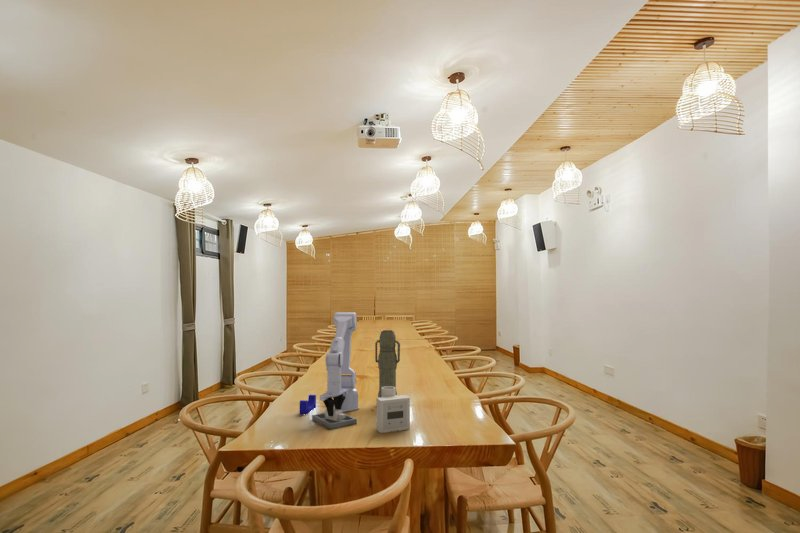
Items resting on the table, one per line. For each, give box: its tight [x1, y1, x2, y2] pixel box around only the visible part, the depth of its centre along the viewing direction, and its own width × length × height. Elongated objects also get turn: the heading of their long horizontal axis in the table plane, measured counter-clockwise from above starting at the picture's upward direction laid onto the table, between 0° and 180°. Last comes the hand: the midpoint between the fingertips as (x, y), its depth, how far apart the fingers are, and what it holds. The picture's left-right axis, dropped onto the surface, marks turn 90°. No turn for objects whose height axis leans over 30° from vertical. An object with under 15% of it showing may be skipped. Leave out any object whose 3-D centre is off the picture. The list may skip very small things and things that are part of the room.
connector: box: [324, 407, 346, 421], centre depth 183 cm, size 10×4×4 cm, turn 54°
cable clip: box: [299, 394, 317, 416], centre depth 200 cm, size 12×4×6 cm, turn 170°
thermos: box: [374, 329, 401, 398], centre depth 210 cm, size 9×12×35 cm
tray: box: [311, 412, 358, 430], centre depth 183 cm, size 12×16×2 cm
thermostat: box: [376, 386, 411, 434], centre depth 178 cm, size 12×14×15 cm
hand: (334, 414), depth 183 cm, fingers closed on connector, 3 cm apart
